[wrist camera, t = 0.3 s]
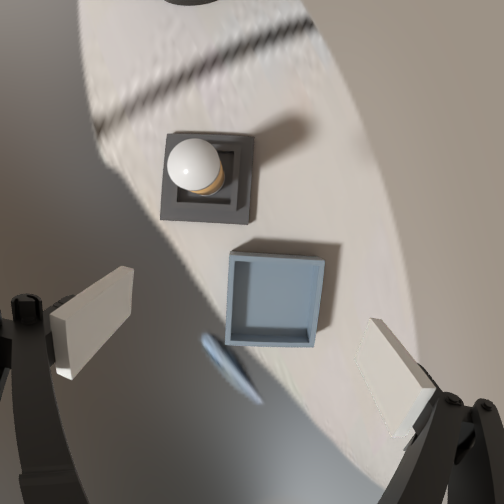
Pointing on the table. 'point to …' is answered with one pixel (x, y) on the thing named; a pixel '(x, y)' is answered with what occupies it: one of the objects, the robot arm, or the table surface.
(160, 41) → the table surface
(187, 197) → the block
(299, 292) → the parts tray
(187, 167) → the ball
